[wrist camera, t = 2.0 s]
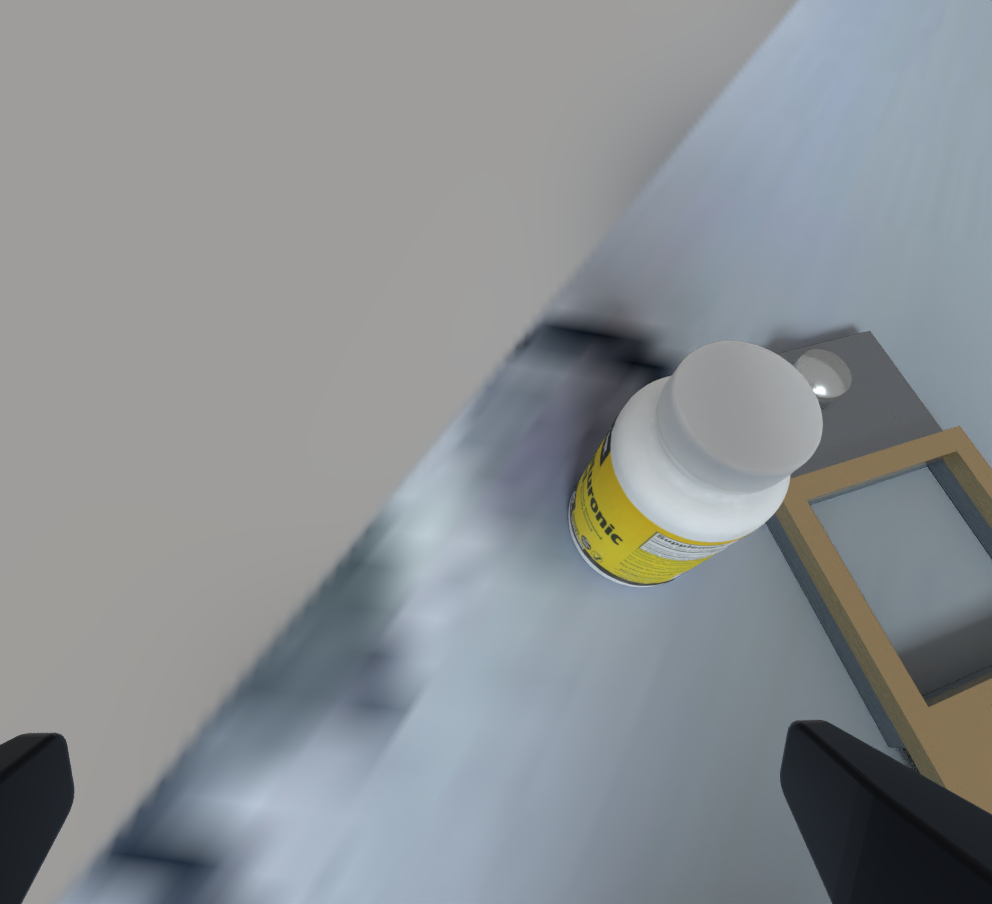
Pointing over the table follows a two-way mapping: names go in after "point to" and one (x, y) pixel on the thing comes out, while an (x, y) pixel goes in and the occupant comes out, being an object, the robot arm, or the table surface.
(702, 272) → the table surface
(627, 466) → the supplement bottle
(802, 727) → the robot arm
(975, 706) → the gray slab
